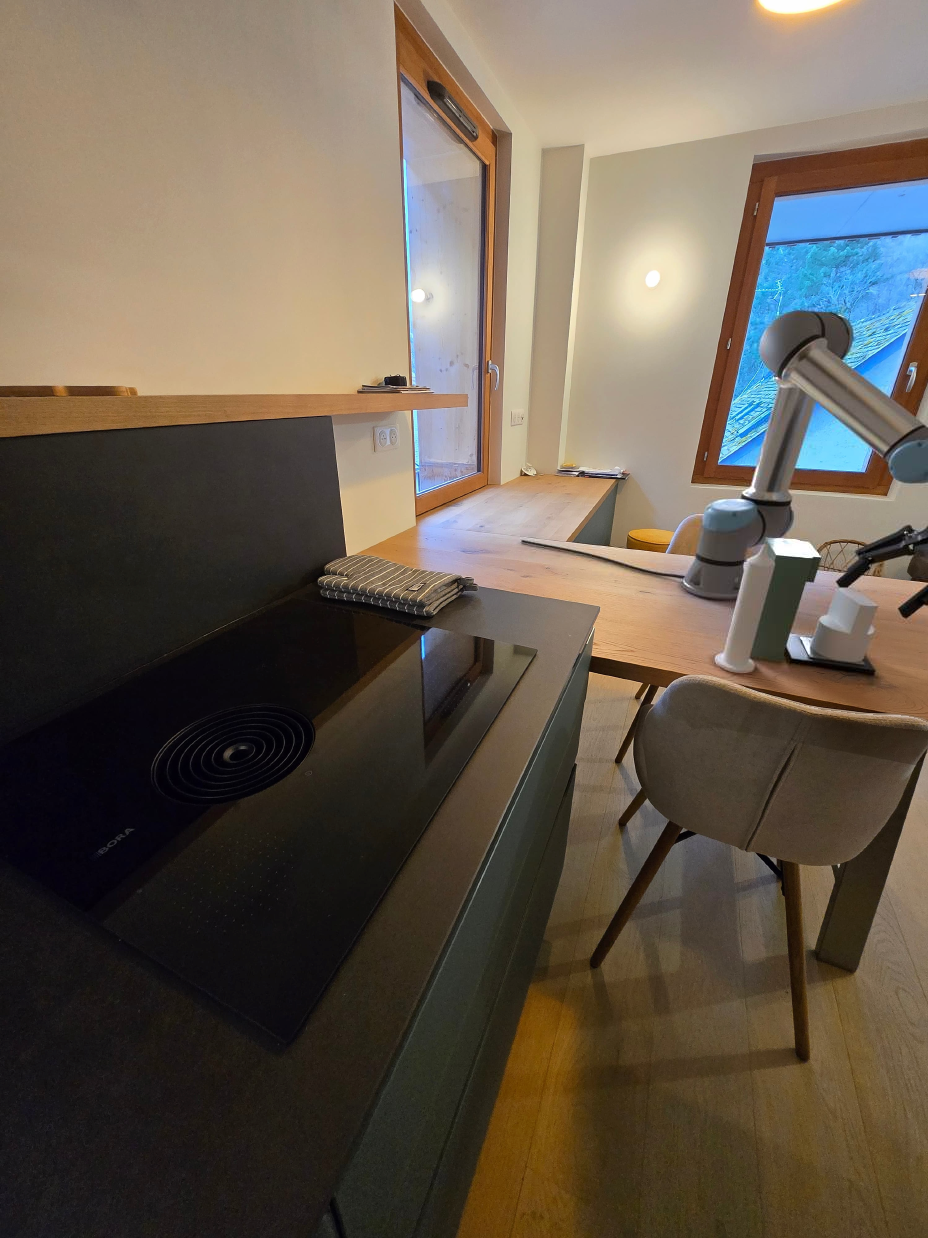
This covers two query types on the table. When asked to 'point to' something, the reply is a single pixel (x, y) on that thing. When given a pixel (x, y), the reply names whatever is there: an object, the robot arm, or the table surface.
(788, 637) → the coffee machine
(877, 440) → the robot arm
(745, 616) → the candle
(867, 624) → the base with upright slab
